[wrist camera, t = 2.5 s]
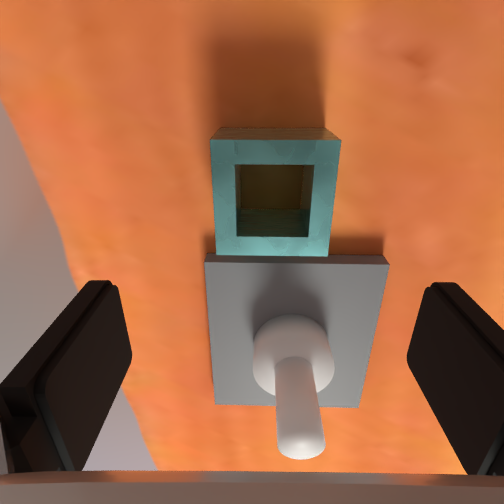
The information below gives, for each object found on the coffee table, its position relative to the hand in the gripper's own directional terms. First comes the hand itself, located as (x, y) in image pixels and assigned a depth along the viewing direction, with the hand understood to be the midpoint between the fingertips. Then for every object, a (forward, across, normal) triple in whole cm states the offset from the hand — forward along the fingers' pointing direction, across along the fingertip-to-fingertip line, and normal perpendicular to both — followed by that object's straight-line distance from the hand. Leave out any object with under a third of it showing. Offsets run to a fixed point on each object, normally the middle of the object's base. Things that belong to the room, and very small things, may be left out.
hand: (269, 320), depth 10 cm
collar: (+15, -1, 0) cm, 15 cm away
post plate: (+16, -3, +14) cm, 21 cm away
